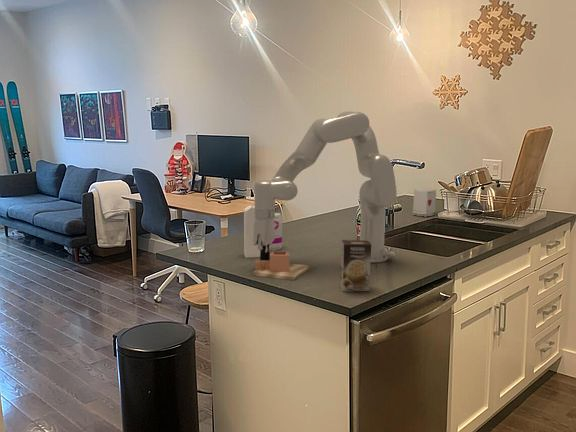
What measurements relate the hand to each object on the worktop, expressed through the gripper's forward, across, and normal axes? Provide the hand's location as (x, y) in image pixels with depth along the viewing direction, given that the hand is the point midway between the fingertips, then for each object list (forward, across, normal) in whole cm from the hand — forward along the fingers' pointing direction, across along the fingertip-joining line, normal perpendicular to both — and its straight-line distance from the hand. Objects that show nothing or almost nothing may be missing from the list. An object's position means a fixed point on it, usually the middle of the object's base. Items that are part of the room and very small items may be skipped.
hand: (265, 262), depth 216 cm
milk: (+3, -15, -12) cm, 19 cm away
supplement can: (+3, -29, -9) cm, 30 cm away
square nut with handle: (+1, +4, +5) cm, 6 cm away
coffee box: (+3, +12, +38) cm, 39 cm away
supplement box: (+3, -130, +40) cm, 136 cm away
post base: (+2, +2, +8) cm, 8 cm away
